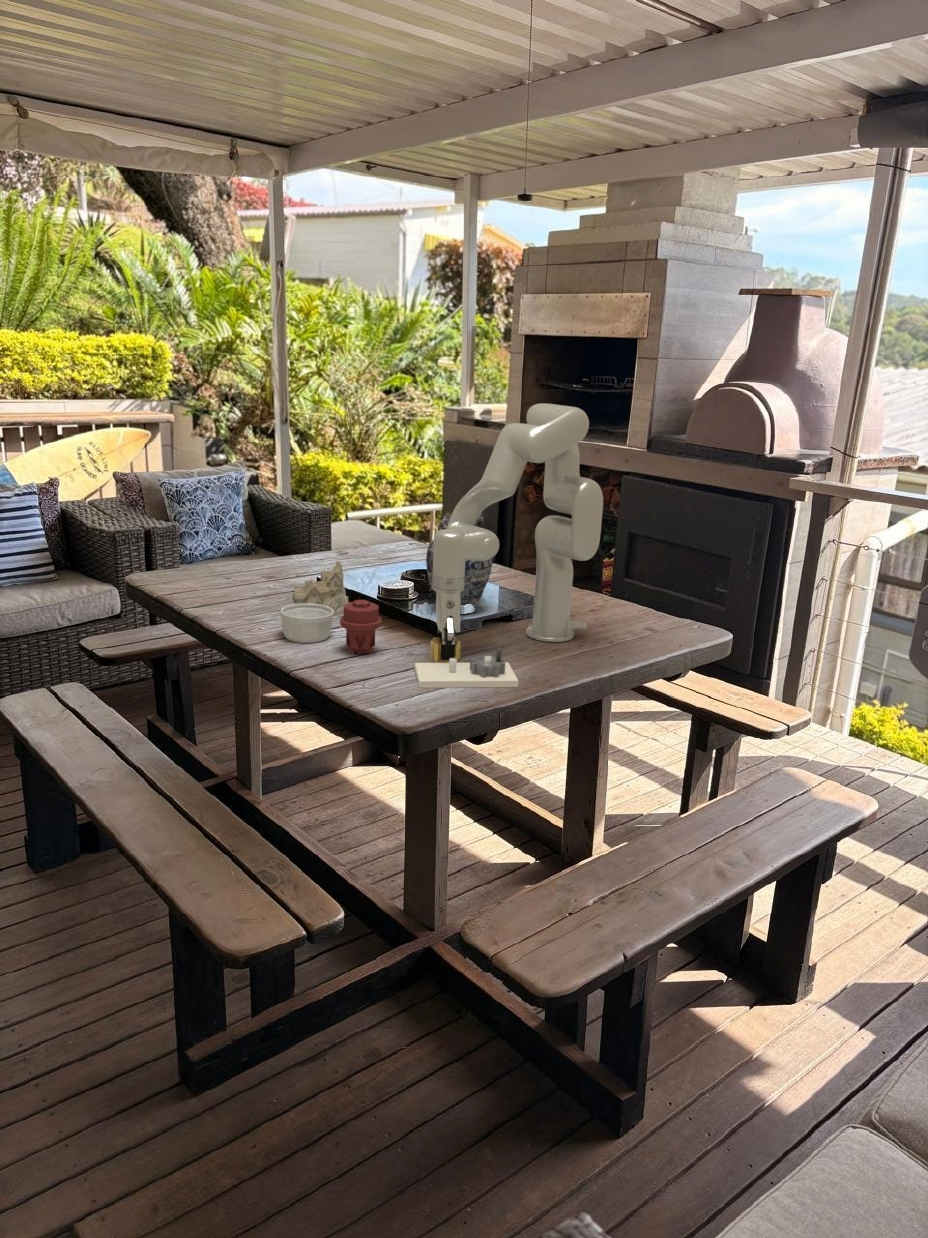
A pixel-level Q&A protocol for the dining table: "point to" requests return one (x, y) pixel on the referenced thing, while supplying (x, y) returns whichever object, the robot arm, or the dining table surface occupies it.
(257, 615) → the dining table surface
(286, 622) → the ramekin
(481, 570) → the decorative vase
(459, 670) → the gear board
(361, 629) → the mechanical component
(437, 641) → the brass gear
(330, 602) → the ceramic cottage
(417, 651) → the dining table surface
